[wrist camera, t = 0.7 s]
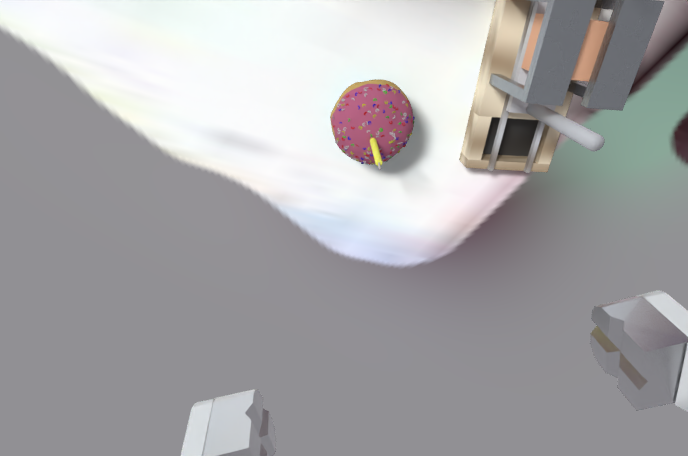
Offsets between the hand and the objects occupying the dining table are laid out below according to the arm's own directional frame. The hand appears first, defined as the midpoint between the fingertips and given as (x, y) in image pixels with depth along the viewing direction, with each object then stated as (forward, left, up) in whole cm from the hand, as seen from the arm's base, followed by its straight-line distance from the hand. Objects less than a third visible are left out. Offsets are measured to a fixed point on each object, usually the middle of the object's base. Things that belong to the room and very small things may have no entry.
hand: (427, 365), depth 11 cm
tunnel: (-4, +22, -40) cm, 46 cm away
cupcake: (+5, +5, -42) cm, 43 cm away
